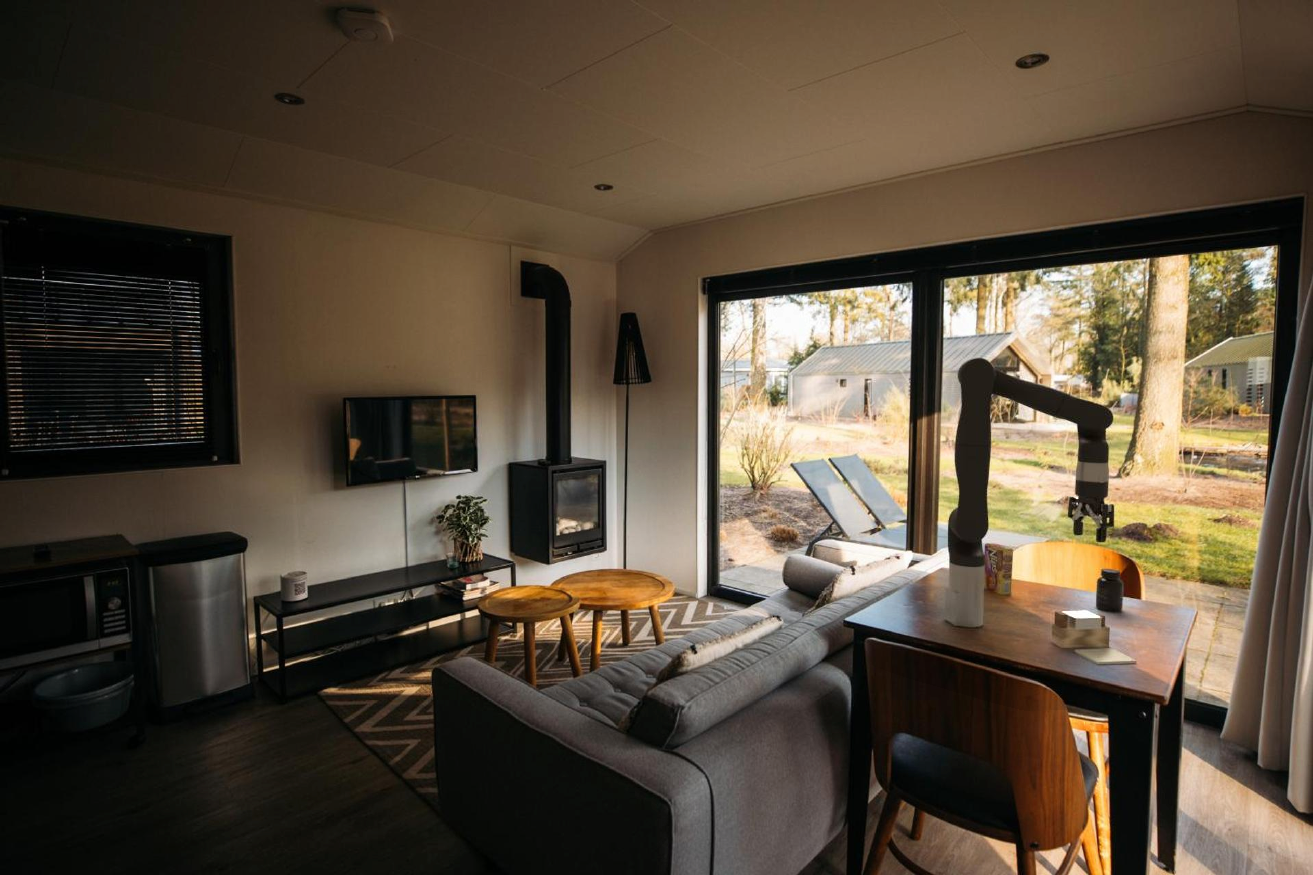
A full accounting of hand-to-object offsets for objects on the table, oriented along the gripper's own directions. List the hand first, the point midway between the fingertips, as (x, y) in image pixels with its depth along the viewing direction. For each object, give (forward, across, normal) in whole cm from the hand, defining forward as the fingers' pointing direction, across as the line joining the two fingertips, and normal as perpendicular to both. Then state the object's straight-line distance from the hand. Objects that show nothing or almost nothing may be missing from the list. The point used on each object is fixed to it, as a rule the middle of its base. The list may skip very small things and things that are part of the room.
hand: (1089, 538), depth 187 cm
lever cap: (+22, +7, -6) cm, 23 cm away
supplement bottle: (+27, -20, +23) cm, 40 cm away
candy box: (+27, -41, 0) cm, 49 cm away
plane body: (+26, +7, -6) cm, 28 cm away
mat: (+26, +16, -6) cm, 31 cm away
